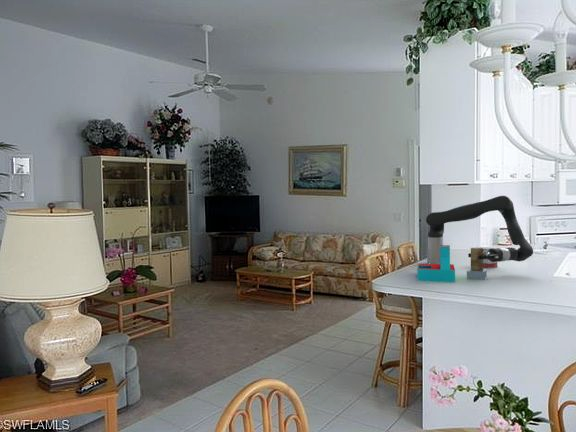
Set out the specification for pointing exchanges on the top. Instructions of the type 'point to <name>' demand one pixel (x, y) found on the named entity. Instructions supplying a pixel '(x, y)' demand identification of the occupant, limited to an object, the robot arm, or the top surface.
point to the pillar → (476, 259)
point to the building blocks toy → (438, 268)
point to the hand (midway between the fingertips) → (473, 256)
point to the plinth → (476, 274)
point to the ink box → (487, 262)
